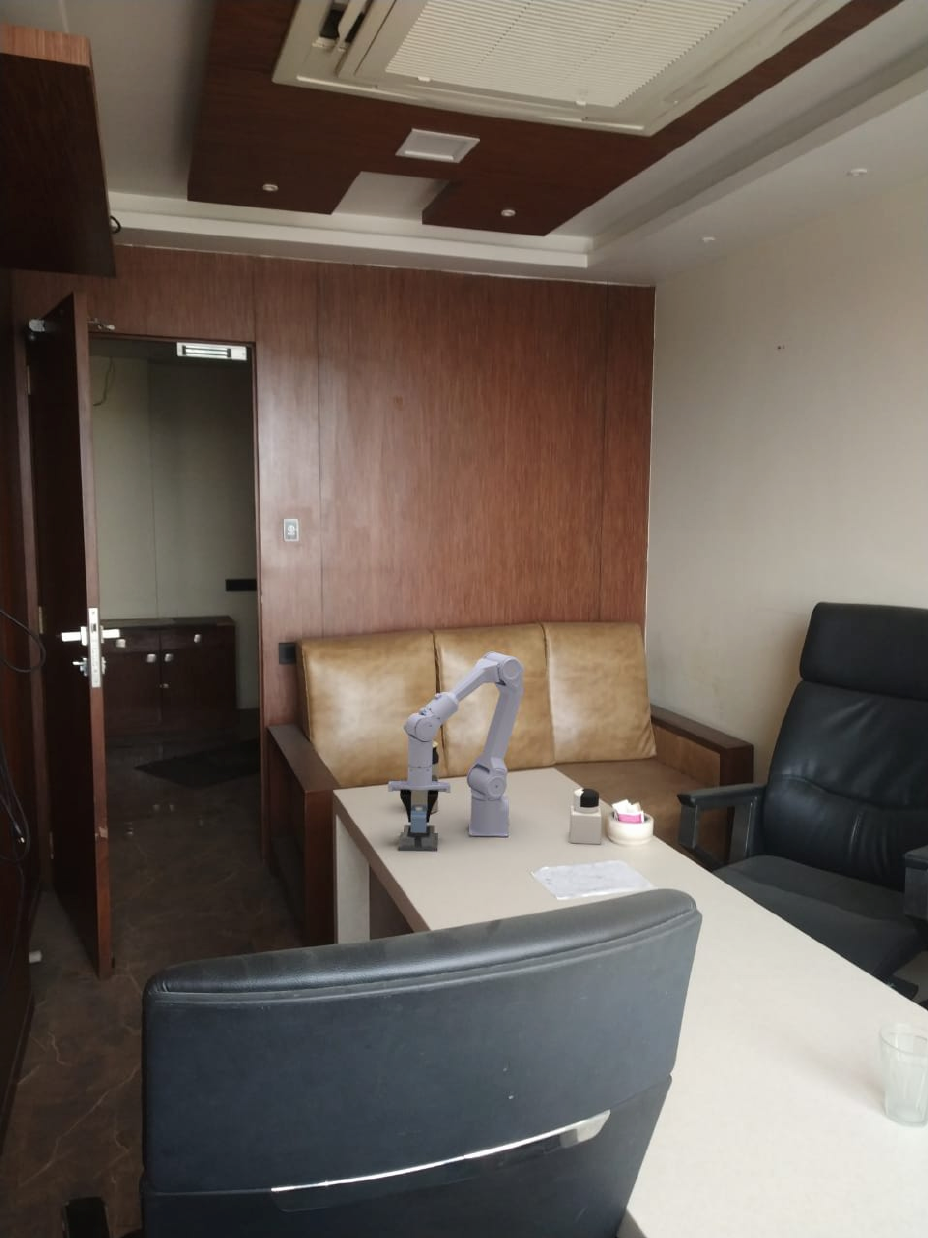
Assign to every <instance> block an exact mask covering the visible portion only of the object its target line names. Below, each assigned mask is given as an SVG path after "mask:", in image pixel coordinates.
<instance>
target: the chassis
mask: <svg viewBox="0 0 928 1238" xmlns="http://www.w3.org/2000/svg"><path fill="white" fill-rule="evenodd" d="M435 829H436V827H435V825H433V824H432V825H430V824H427V827H426V833H418V832H410V831H411V824H405V825H404V826H403V831H401V832H400V835H399V841H398V845H397V846H398V847H397V850H398V852H399V851H403V852H405V851H406V852H407V851H408V852H413V851H414V852H438V844H439V832H435Z"/></svg>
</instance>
